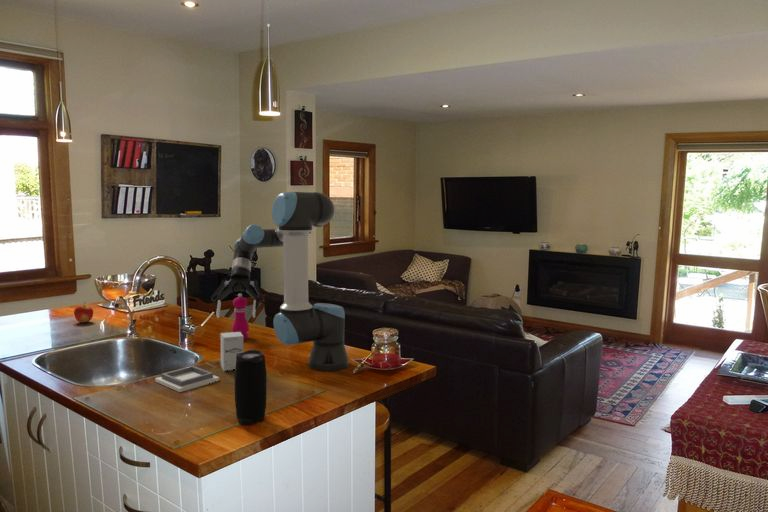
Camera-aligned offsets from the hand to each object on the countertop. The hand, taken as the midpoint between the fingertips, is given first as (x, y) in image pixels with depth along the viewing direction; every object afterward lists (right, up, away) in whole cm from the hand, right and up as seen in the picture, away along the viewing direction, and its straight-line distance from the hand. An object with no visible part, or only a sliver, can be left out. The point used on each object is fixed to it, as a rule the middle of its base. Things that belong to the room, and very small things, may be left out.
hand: (235, 316), depth 217 cm
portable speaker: (+19, -24, -55) cm, 63 cm away
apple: (-87, -9, +54) cm, 102 cm away
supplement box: (+1, -18, -9) cm, 20 cm away
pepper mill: (-6, -13, +31) cm, 35 cm away
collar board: (-10, -20, -24) cm, 33 cm away
